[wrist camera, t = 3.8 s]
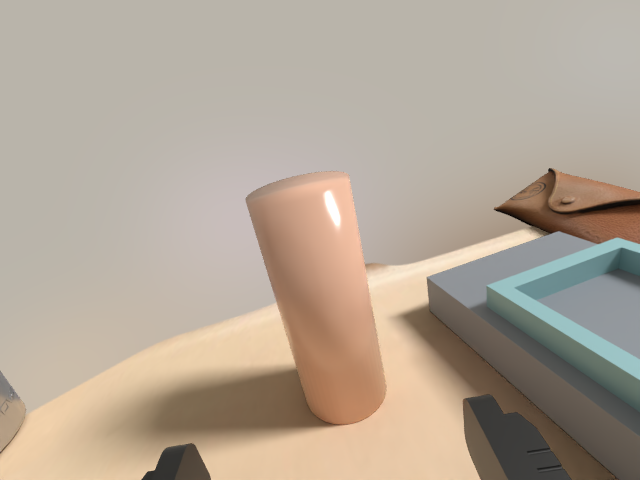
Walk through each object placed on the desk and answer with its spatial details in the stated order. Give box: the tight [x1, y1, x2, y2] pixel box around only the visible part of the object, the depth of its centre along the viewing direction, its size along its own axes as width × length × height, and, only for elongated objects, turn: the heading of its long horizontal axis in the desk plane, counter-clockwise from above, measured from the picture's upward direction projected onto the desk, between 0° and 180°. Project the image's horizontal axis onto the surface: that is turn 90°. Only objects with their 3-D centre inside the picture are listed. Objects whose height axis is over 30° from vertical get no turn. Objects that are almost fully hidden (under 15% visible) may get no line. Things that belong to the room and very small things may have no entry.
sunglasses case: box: [494, 168, 640, 244], centre depth 34 cm, size 18×7×7 cm
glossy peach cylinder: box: [246, 171, 386, 424], centre depth 19 cm, size 5×5×13 cm
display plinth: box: [427, 231, 640, 480], centre depth 18 cm, size 12×20×4 cm, turn 17°
